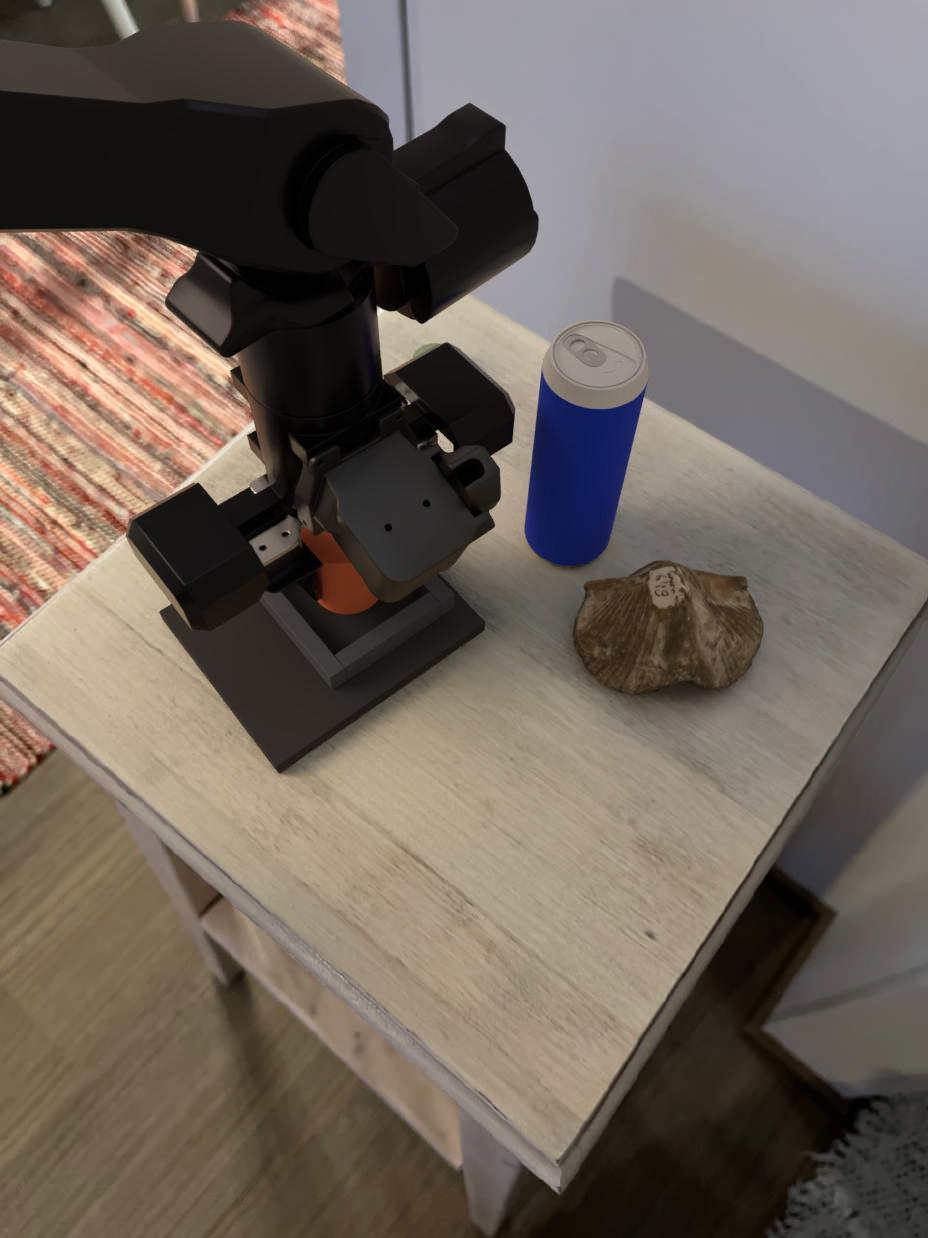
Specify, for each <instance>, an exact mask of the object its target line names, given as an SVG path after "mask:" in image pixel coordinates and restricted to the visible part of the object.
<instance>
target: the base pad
mask: <svg viewBox="0 0 928 1238" xmlns="http://www.w3.org/2000/svg"><path fill="white" fill-rule="evenodd" d="M158 614H159V615H160V617H161V619H162V621H163V622H164V624H165V625H166V627H167V628H168V629H169V630H170V632H171V633H172V634H173V636H174V637H175V639H177V641H178V642H179V643H180V645H181V646H182V647H183V649H184V650H185V651H186V653H187V654H188V656H189V657H190V659H192V661H193V662H194V663H195V665H196V667H198V669H199V670H200V672H201V673H202V674H203V676H204V677H205V679H207V681H208V682H209V684H210V685H211V686H212V687H213V689H214V691H216V693H217V694H218V695H219V696H220V698H221V699H222V700H223V702H224V703H225V704H226V707H228V708H229V711H231V713H232V714H233V715H234V716H235V718H236V720H238V721H239V723H240V724H241V726H242V728H244V730H245V731H246V733H247V734H248V735H249V737H250V738H251V739H252V741H253V742H254V743H255V745H256V746H257V747H258V749H259V750H260V751H261V752H262V754H263V755H264V756H265V758H266V759H267V760H268V762H269V764H270V765H271V766H272V767H273V768H274V770H275V771H276V772H277V774H281V773H283V772H284V771H285V770H287V769H289V768H290V767H291V766H293V765H294V764H295V763H297V762H298V761H300V760H301V759H302V758H304V757H305V756H307V755H308V754H310V753H312V752H313V751H314V750H316V749H317V748H318V747H320V746H321V745H323V744H325V742H327V741H329V740H330V739H332V738H333V737H334V736H336V735H337V734H339V733H340V732H342V731H343V730H344V729H345V728H347V727H348V726H350V725H351V724H353V723H354V722H356V721H357V720H358V719H360V718H361V717H363V716H364V715H365V714H367V713H369V712H370V711H372V710H373V709H374V708H376V707H377V706H378V705H380V704H381V703H383V702H384V701H387V699H389V698H390V697H391V696H393V695H394V694H396V693H397V692H398V691H400V690H402V689H403V688H404V687H406V686H407V685H408V684H410V683H411V682H412V681H414V680H415V679H417V678H419V677H420V676H421V675H423V674H424V673H426V672H427V671H429V670H430V669H431V668H433V667H434V666H436V665H437V664H438V663H440V662H442V661H443V660H444V659H446V658H447V657H449V656H450V655H451V654H453V653H455V652H456V651H458V650H459V649H460V648H461V647H463V646H464V645H465V644H467V643H469V642H470V641H472V640H473V639H475V638H476V637H477V636H479V635H481V633H483V632H485V630H486V621H485V620H484V619H483V618H482V617H481V616H480V615H479V613H478V612H476V611H475V610H474V608H473V607H472V606H471V604H469V603H468V602H467V601H466V600H465V599H464V598H463V596H461V595H460V593H459V592H458V591H457V590H456V589H455V588H454V587H453V586H452V585H451V583H449V581H447V580H446V578H444V576H443V575H442V574H441V573H439V574H438V575H436V576H435V577H433V578H432V579H430V580H429V581H427V582H426V583H424V584H423V585H421V586H420V587H418V588H417V589H415V590H414V591H413V592H411V593H410V594H409V595H407V596H406V597H404V598H403V599H401V600H399V601H396V602H383V601H381V600H379V599H378V601H377V602H376V603H375V604H374V605H372V606H371V607H370V608H368V609H366V610H364V611H362V612H359V613H355V614H338V613H334V612H332V611H329V610H328V609H326V608H324V607H323V606H322V605H321V604H320V603H319V602H318V601H315V600H314V599H313V598H312V597H310V596H309V595H308V594H307V593H306V592H305V591H304V590H303V589H302V588H301V587H300V586H299V585H298V584H296V583H295V584H293V585H291V586H290V587H288V588H287V589H285V590H283V591H282V592H279V593H269V592H266V591H265V592H264V594H263V595H262V597H261V598H260V600H259V601H258V602H257V603H255V604H254V605H252V606H250V607H249V608H247V609H246V610H244V611H242V612H241V613H239V614H238V615H236V616H234V617H233V618H231V619H230V620H228V621H226V622H225V623H223V624H222V625H220V626H218V627H217V628H215V629H214V630H212V631H210V632H204V631H194V630H191V628H190V627H189V626H188V624H187V623H186V622H185V620H184V619H183V618H182V617H181V615H180V614H179V613H178V611H177V610H176V609H175V607H174V606H173V605H172V604H171V603H170V604H169V605H167V606H165V607H164V608H162V609H160V610H159V611H158Z"/></svg>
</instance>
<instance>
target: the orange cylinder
mask: <svg viewBox="0 0 928 1238" xmlns="http://www.w3.org/2000/svg"><path fill="white" fill-rule="evenodd" d="M301 536H302V539H301V540H302V541H303V542H304V543H305V544H306V545H307V546H308V548H309V549H310V550H311V551H312V552H313V553H314V554H315V556H316V557H317V558H318V559H319V560H320V561H321V562H322V564H323V566H322V567H320V568H319V569H317V570H316V571H317V574H318V577H319V580H320V583H321V586H322V598H321V599H320V600H318V602H319V603H320V604H321V605H322V606H323V607H324V608H326V609H328V610H329V611H332V612H334V613H338V614H355V613H359V612H362V611H364V610H366V609H368V608H370V607H371V606H372V605H374V604H375V603H376V602H377V601H378V599H377V598H376V597H374V596H373V594H372V593H371V592H370V591H369V589H368V588H367V587H366V585H365V583H364V581H363V579H362V578H361V576H360V575H359V573H358V572H357V571H356V569H355V568H354V566H353V565H352V564H351V562H350V561H349V559H348V558H347V557H346V555H345V554H344V553H343V551H342V550H341V548H340V547H339V546H338V544H337V543H336V541H335V540H334V538H333V536H332V534H331V533H328V532H326V531H324V532H322V533H320V534H319V535H317V536H316V537H315V536H314V535H313V534H312V533H311V532H310V531H309V530H308V529H307V527H304V528H303V529H302V530H301Z"/></svg>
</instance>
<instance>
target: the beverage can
mask: <svg viewBox="0 0 928 1238" xmlns="http://www.w3.org/2000/svg"><path fill="white" fill-rule="evenodd" d="M648 363H649V362H648V357H647V353H646V348H645V345H644V344H643V342H642V340H641V339H640V338H639V337H638V336H637V335H636V334H635V333H634V332H633V330H630V329H629V328H627V327H625V326H624V325H621V324H618V323H617V322H614V321H609V320H602V319H589V320H582V321H578V322H575V323H572V324H570V325H568V326H566V327H565V328H563V329H562V330H560V331H559V332H558V333H557V334H556V335H555V337H554V338H553V340H552V341H551V343H550V344H549V346H548V348H547V349H546V351H545V352H544V356H543V357H542V363H541V369H540V370H541V372H540V379H539V380H540V381H539V388H538V389H539V390H538V397H537V398H538V399H537V407H536V408H537V409H536V418H535V427H534V435H533V443H532V445H533V446H532V454H531V463H530V472H529V480H528V481H529V482H528V490H527V500H526V507H525V515H524V516H525V518H524V529H523V530H524V537H525V540H526V542H527V544H528V546H529V548H530V549H531V550H532V551H533V552H534V553H535V554H536V555H537V556H538V557H539V558H541V559H543V560H544V561H546V562H548V563H550V564H552V565H556V566H560V567H578V566H579V567H580V566H583V565H587V564H589V563H591V562H593V561H594V560H597V559H598V558H599V557H601V555H603V553H604V552H605V551H606V549H607V547H608V546H609V543H610V541H611V536H612V531H613V527H614V523H615V520H616V516H617V511H618V507H619V503H620V499H621V494H622V490H623V487H624V483H625V478H626V474H627V469H628V466H629V462H630V458H631V453H632V449H633V445H634V440H635V435H636V432H637V428H638V424H639V420H640V416H641V412H642V407H643V403H644V399H645V396H646V395H645V394H646V390H647V386H648V382H649V378H650V377H649V376H650V369H649V364H648Z"/></svg>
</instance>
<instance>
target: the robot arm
mask: <svg viewBox="0 0 928 1238" xmlns="http://www.w3.org/2000/svg"><path fill="white" fill-rule="evenodd" d="M506 138H507V125H506V124H504V122H502V121H500V120H499V119H497V118H496V117H494V116H492V115H491V114H490V113H487V112H486V111H484V110H483V109H481V108H480V107H478V106H476V105H474V104H473V103H472V102H468V103H466V104H464V105H463V106H461V107H459V108H457V109H455V110H454V111H452V112H450V113H449V114H448V115H446V116H445V117H444V118H443V119H442V120H441V121H440V122H438V123H437V124H436V125H435V126H433V127H432V128H431V129H428V130H427V131H425V132H424V133H422V134H420V135H418V136H417V137H415V138H413V139H411V140H409V141H408V142H406V143H404V144H402V145H401V146H398V147H397V148H396V149H395V147H394V146H395V145H394V137H393V133H392V131H391V129H390V117H389V115H388V114H387V113H386V112H385V111H384V110H383V109H382V108H380V106H379V105H377V104H376V103H374V102H373V101H371V100H369V99H368V98H367V97H365V96H364V95H362V94H361V93H359V92H357V91H356V90H355V89H353V88H351V87H350V86H348V85H347V84H345V83H344V82H342V81H341V80H339V79H338V78H336V77H335V76H334V75H332V74H330V73H329V72H327V71H326V70H324V68H322V67H320V66H318V65H317V64H315V63H314V62H312V61H311V60H309V59H308V58H306V57H305V56H303V55H302V54H301V53H299V52H297V51H295V50H294V49H292V48H291V47H290V46H288V45H287V44H286V43H283V42H282V41H280V40H279V39H277V38H276V37H274V36H273V35H271V34H270V33H268V32H267V31H265V30H264V29H262V28H261V27H259V26H256V25H254V24H252V23H250V22H247V21H245V20H238V19H236V20H235V19H222V20H208V21H207V20H205V21H193V22H192V21H190V22H177V23H175V22H174V23H161V24H160V23H159V24H151V25H148V26H146V27H144V28H142V29H140V30H138V31H136V32H134V33H132V34H131V35H128V36H127V37H125V38H123V39H121V40H119V41H117V42H116V43H114V44H110V45H100V46H99V45H98V46H87V47H64V46H63V47H62V46H55V45H48V44H40V43H33V42H32V43H31V42H23V41H15V40H9V39H1V38H0V234H22V233H23V234H26V233H27V234H29V233H32V234H33V233H85V232H87V233H90V232H92V233H93V232H130V233H134V234H135V233H136V234H140V235H146V236H152V237H157V238H161V239H163V240H167V241H170V242H173V243H176V244H179V245H181V246H184V247H186V248H189V249H192V250H193V251H197V253H196V254H195V258H194V261H193V264H192V265H191V267H190V268H189V269H188V270H187V271H186V272H185V273H183V274H182V275H181V276H179V277H178V278H177V279H176V280H175V281H174V283H173V285H172V286H171V288H170V290H169V291H168V292H167V295H166V296H165V298H164V305H165V308H166V310H168V311H169V312H170V313H171V314H172V315H173V316H174V317H176V318H177V319H178V320H179V321H180V322H182V323H183V324H184V325H185V326H186V327H187V328H188V329H189V330H191V332H193V334H195V335H196V336H197V337H199V338H200V340H202V341H203V342H204V343H205V344H207V345H208V346H209V347H210V348H211V349H212V350H213V351H215V352H216V353H217V354H218V355H219V356H220V357H222V358H225V359H230V358H232V357H234V356H236V355H237V360H238V364H239V365H237V366H235V367H233V368H231V369H229V373H230V375H231V376H230V377H231V380H232V384H233V388H234V389H235V390H236V391H237V392H238V393H239V395H241V396H242V398H244V400H245V401H246V402H247V403H248V405H249V408H250V414H251V417H252V420H253V421H252V422H253V424H254V428H255V430H253V431H251V432H249V433H248V434H246V437H247V442H248V445H249V448H250V451H251V452H252V453H253V454H254V455H255V456H256V458H257V459H259V461H260V462H261V463H262V464H263V465H264V469H265V472H266V473H264V474H263V475H260V476H259V477H257V478H255V479H254V480H252V481H251V482H249V485H248V487H246V488H244V489H243V490H241V491H239V492H238V493H236V494H234V495H233V496H231V497H229V498H227V499H226V500H224V501H222V502H221V503H219V504H218V503H217V502H216V501H215V500H214V499H213V497H212V496H211V495H210V493H208V491H207V490H206V489H205V488H204V486H202V484H201V483H200V482H192V483H189V484H187V485H186V486H184V487H183V488H181V489H179V490H177V491H175V492H174V493H172V494H170V495H168V496H167V497H165V498H163V499H162V500H159V501H158V502H156V503H154V504H152V505H150V506H148V507H147V508H146V509H144V510H142V511H140V512H138V513H137V514H134V515H133V516H131V517H130V518H128V521H127V526H126V531H125V538H126V540H127V543H128V544H129V545H128V546H130V548H131V551H132V553H133V555H134V557H135V558H136V560H138V562H139V563H140V564H141V566H142V567H143V568H144V570H145V571H146V572H147V574H148V575H149V576H150V577H151V579H152V580H153V581H154V583H155V584H156V586H157V587H158V588H159V589H160V591H161V592H162V593H163V595H164V596H165V598H166V599H167V600H168V601H169V602H170V604H172V605H173V606H174V607H175V609H176V610H177V611H178V613H179V614H180V615H181V617H182V618H183V619H184V620H185V622H186V623H187V624H188V626H189V627H190V628H191V630H194V631H204V632H210V631H212V630H214V629H215V628H217V627H218V626H220V625H222V624H223V623H225V622H226V621H228V620H230V619H231V618H233V617H234V616H236V615H238V614H239V613H241V612H242V611H244V610H246V609H247V608H249V607H250V606H252V605H254V604H255V603H257V602H258V601H259V600H260V598H261V597H262V595H263V594H264V592H265V591H266V592H269V593H279V592H282V591H283V590H285V589H287V588H288V587H290V586H291V585H293V584H295V583H296V584H298V585H299V586H300V587H301V588H302V589H303V590H304V591H305V592H306V593H307V594H308V595H309V596H310V597H312V598H313V599H314V600H315V601H318V600H320V599H321V598H322V586H321V583H320V580H319V577H318V574H317V571H316V570H317V569H319V568H320V567H322V566H323V564H322V562H321V561H320V560H319V559H318V558H317V557H316V556H315V554H314V553H313V552H312V551H311V550H310V549H309V548H308V546H307V545H306V544H305V543H304V542H303V541H302V540H301V539H302V536H301V530H302V529H303V528H304V527H307V529H308V530H309V531H310V532H311V533H312V534H313V535H314V536H315V537H316V536H317V535H319V534H320V533H322V532H324V531H326V532H328V533H331V534H332V536H333V538H334V540H335V541H336V543H337V544H338V546H339V547H340V548H341V550H342V551H343V553H344V554H345V555H346V557H347V558H348V559H349V561H350V562H351V564H352V565H353V566H354V568H355V569H356V571H357V572H358V573H359V575H360V576H361V578H362V579H363V581H364V583H365V585H366V587H367V588H368V589H369V591H370V592H371V593H372V594H373V596H374V597H376V598H377V599H379V600H381V601H383V602H396V601H399V600H401V599H403V598H404V597H406V596H407V595H409V594H410V593H411V592H413V591H414V590H415V589H417V588H418V587H420V586H421V585H423V584H424V583H426V582H427V581H429V580H430V579H432V578H433V577H435V576H436V575H438V574H439V573H440V574H441V573H443V572H445V571H447V570H448V569H450V568H451V567H452V566H454V565H455V564H456V563H457V562H458V560H459V559H460V558H461V556H462V555H463V553H464V552H465V551H466V549H467V548H468V546H469V545H471V544H472V543H474V542H475V541H477V540H479V539H480V538H482V537H484V535H486V534H488V533H489V532H490V531H492V530H494V529H495V528H496V523H495V521H494V518H493V516H492V515H491V512H490V511H491V510H493V509H495V507H497V505H498V503H499V502H500V500H501V498H502V483H501V482H502V481H501V480H502V479H501V467H500V466H499V465H498V464H497V462H496V461H495V459H494V458H493V457H492V456H493V455H496V453H498V452H500V451H501V450H503V449H504V448H507V447H508V446H509V445H511V444H512V443H514V441H513V440H514V431H515V421H516V406H515V405H514V402H513V400H512V398H511V396H510V393H509V392H508V391H507V390H506V389H505V388H504V387H503V386H501V385H500V384H499V383H498V382H496V381H495V380H494V378H492V377H491V376H490V375H489V374H488V373H487V372H486V371H485V370H484V369H482V367H480V366H479V365H478V364H477V363H476V362H475V361H474V360H473V359H471V358H470V357H469V356H468V355H467V354H466V353H465V352H464V351H463V350H462V349H460V348H459V347H458V346H456V345H454V344H452V343H450V342H449V341H446V342H442V343H439V344H438V345H436V346H434V347H432V348H430V349H428V350H427V351H425V352H423V353H421V354H420V355H418V356H416V357H414V358H413V359H412V358H411V359H409V360H407V361H406V362H403V363H402V364H400V365H399V366H397V367H394V368H393V369H391V370H389V371H388V372H386V373H384V374H383V364H382V361H383V360H382V351H381V341H380V328H379V316H378V308H379V309H381V310H383V311H386V312H388V313H389V312H390V313H391V312H397V313H398V314H400V315H402V316H404V317H406V318H408V319H409V320H413V321H416V322H417V323H419V324H420V325H424V324H425V323H427V322H428V321H430V320H432V319H433V318H435V317H436V316H437V315H439V314H440V313H442V312H443V311H445V310H447V309H448V308H450V307H451V306H452V305H454V304H455V303H458V301H461V300H462V299H463V298H464V297H466V296H467V295H469V294H470V293H472V292H474V291H475V290H476V289H478V288H480V287H481V286H483V285H484V284H486V283H487V282H489V281H490V280H491V279H493V278H494V277H496V276H498V275H499V274H501V273H502V272H503V271H505V270H507V269H508V268H510V267H511V266H513V265H514V264H515V263H517V262H519V261H520V260H522V259H523V258H524V257H526V256H527V255H528V254H530V253H531V251H532V249H533V248H534V246H535V245H536V242H537V238H538V233H539V223H540V218H539V217H540V216H539V214H538V213H537V211H536V210H535V209H534V201H533V199H532V196H531V192H530V189H529V187H528V184H527V181H526V180H525V177H524V176H523V174H522V172H521V169H520V168H519V166H518V165H517V164H516V162H515V160H514V159H513V158H512V156H511V154H510V152H508V151H507V150H506ZM437 431H438V432H440V434H442V435H443V436H444V437H445V438H446V439H447V440H448V441H449V443H451V444H452V451H445V450H444V449H443V448H442V447H441V445H440V444H439V433H438V432H437Z"/></svg>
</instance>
